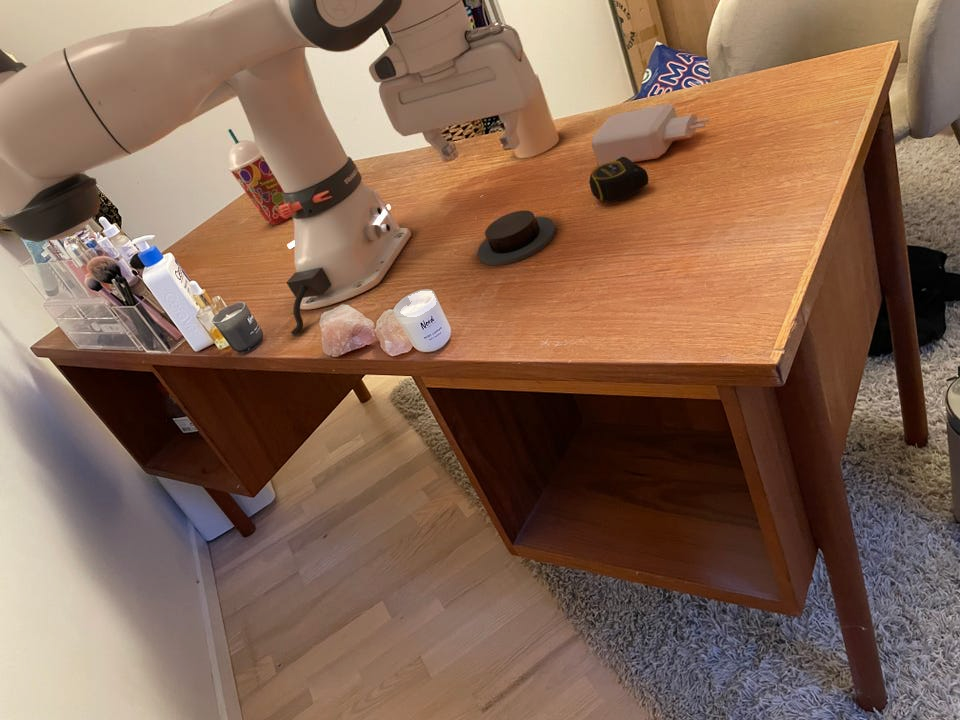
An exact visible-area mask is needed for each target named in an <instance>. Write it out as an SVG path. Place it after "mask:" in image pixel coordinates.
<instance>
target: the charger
mask: <svg viewBox="0 0 960 720" xmlns="http://www.w3.org/2000/svg"><path fill="white" fill-rule="evenodd" d="M677 115H678V114H677V111H676V107H675V106H674V105H672V104H670V103H665V104H661V105H660V104H659V105H654V106H650V107H646V108H640V109H636V110H635V109H634V110H630V111H624V112H620V113H615V114H611V115H610V116H608V118H607V119H606V120H605V122H604V123H603V124H602V125H601V127H600V128H599V129H598V130H597V131H596V133H594V134H593V137H592V140H591V147H592V150H593V153H594V157H595V159H596V164H597V165H598V167H600V166H601V165H603V164H606V163H609V162H613V161H616V160H617V159H619V158H621V157H626V158H628V159H629V160H631V161H632V162H633V163H636V162H642V161H651V160H655V159H659V158H660V157H662V155H664V154H665V153H666V152H667V150H668V149H669V148H670V146H671V145H672V144H673V142H674V141H678V140H683V139H684V140H685V139H689V138H690V139H691V138H692V137H693V135H694V133H695V131H696V130H697V129H702V128H705V127H706V124H705V123H707V122H709V118H702V119H701V118H700V119H698V115H697V114H688V115H687V114H686V115H682V116H677Z"/></svg>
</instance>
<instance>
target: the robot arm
mask: <svg viewBox="0 0 960 720" xmlns="http://www.w3.org/2000/svg"><path fill="white" fill-rule="evenodd" d="M384 26H385V27H386V28H387V30H388V32H389V35H390V37H391V40H392V44H390V45H389V46H388V47H387V48H386V50H384V51H383V52H382V53H381V54H380V55H379V56H378V57H377V58H376V59H375V60H374V61H373V62H372V63H371V64H370V65H369V66H368V72H369V74H370V76H371V78H372V80H373V81H374V82H375V83H378V84H379V83H380V84H379V87H378V94H379V97H380V101H381V104H382V106H383V109H384V110H385V113H386V115H387V118H388V120H389V121H390V124H391V126H392V128H393V129H394V130H395V131H396V132H397V133H398V134H399V135H400V136H402V137H409V136H413V135H417V134H422V136H423V138H424V140H425V141H426V142H427V143H428V144H429V145H431V146H432V148H433V149H435V150H436V151H437V152H438V153H439V155H440V158H441V161H442V162H443V163H448V162H452V161H456V159H457V158H458V157H459V151H458V150H457V147H456V145H455V144H456V143H455V142H450V143H449V141H448V140H447V139H446V138H445V137H444V136H443V135H442V133H441V132H442V131H443V128H448V127H452V126H456V125H462V124H464V123H470V122H473V121H477V120H483V119H487V118H490V117H497V116H498V119H499V121H500V123H501V124H503V123H505V122H506V125H505V126H504V133H503V134H502V135H501V136H500V137H499V138H498V139H499V141H500V144H501V145H502V149H503V151H510V150H513V149H516V148H517V147H518V145H519V144H520V140H519V137H518V135H517V132H516V129H517V122H518V116H519V112H518V110H522V109H525V108H527V107H528V106H529V105H530V104H531V103H532V102H533V101H534V100H535V99H536V98H537V96H538V93H539V83H538V80H537V78H536V75H535V74H536V73H535V71H534V69H533V67H532V64H531V62H530V60H529V58H528V56H527V54H526V53H525V51H524V46H523V43H522V41H521V38H520V35H519V33H518V31H517V30H516V28H514V27H513V26H511V25H509V24H506V23H503V22H502V21H495V22H492V23H489V25H486V26H480V27H476V28H474V29H473V26H472V23H471V21H470V18H469V15H468V13H467V10H466V7H465V5H464V2H463V0H230V1H229V2H227V3H225V4H223V5H221V6H219V7H217V8H214V9H212V10H209V11H208V12H204V13H203V14H200V15H197V16H195V17H192V18H191V19H187V20H184V21H181V22H180V23H177V24H174V25H161V26H144V27H134V28H129V29H128V28H127V29H123V30H117V31H112V32H108V33H103V34H100V35H97V36H93V37H90V38H87V39H83V40H81V41H79V42H76V43H73V44H70V45H69V46H66V47H63V48H61V49H60V50H57V51H55V52H53V53H50V54H48V55H45V56H44V57H42V58H40V59H39V60H37V61H34V62H33V63H31V64H29V65H26V64H25V63H23V62H17V61H15V60H14V59H13V58H12V57H10V56H9V55H8V54H7V53H6V52H5V51H3V50H2V49H1V48H0V216H1V219H0V220H1V222H3V223H4V225H5V226H6V227H8V228H9V229H10V230H11V231H12V232H13V233H14V234H15V235H17V236H18V237H19V238H21V240H25V241H29V242H34V243H40V242H43V241H45V242H46V241H57V240H62V239H66V238H69V237H71V236H74V235H75V234H77V233H79V232H80V231H82V230H83V229H84V228H85V227H87V226H88V224H89V223H90V222H91V221H92V220H93V218H94V217H95V216H96V215H98V214H99V211H100V207H101V201H102V200H101V195H100V191H99V188H98V186H97V185H98V182H97V179H96V178H95V177H90V176H89V175H88V173H87V172H86V171H89V170H93V169H95V168H99V167H101V166H104V165H108V164H110V163H113V162H116V161H118V160H120V159H124V158H125V157H127V156H130V155H132V154H135V153H137V152H139V151H141V150H144V149H146V148H147V147H150V146H151V145H153V144H156V143H157V142H159V141H160V140H162V139H163V138H165V137H167V136H169V135H170V134H171V133H172V132H174V131H175V130H177V129H178V128H180V127H181V126H184V125H186V124H187V123H190V122H192V121H193V120H195V119H197V118H198V117H200V116H202V115H203V114H205V113H207V112H210V111H211V110H213V109H215V108H217V107H218V106H221V105H222V104H224V103H226V102H229V101H231V100H232V99H235V98H238V101H239V102H240V105H241V107H242V110H243V112H244V114H245V116H246V119H247V121H248V124H249V127H250V129H251V132H252V136H253V140H254V142H255V144H256V146H257V147H258V149H259V151H260V152H261V154H262V156H263V158H264V159H265V161H266V163H267V164H268V166H269V168H270V169H271V171H272V173H273V174H274V176H275V178H276V179H277V181H278V183H279V184H280V186H281V188H282V189H283V191H282V194H283V197H284V200H285V204H283V205H280V206H279V210H280V211H279V213H281V214H280V215H282V217H284V218H285V219H286V218H288V217H290V216H291V218H292V220H293V240H292V241H291V242H289V243H288V244H286V245H287V247H288V249H289V250H290V249H292V248H293V249H294V250H293V251H294V253H293V254H294V259H293V261H294V267H295V270H296V271H295V272H294V273H293V274H292V275H291V276H290V278H289V279H288V280H287V281H286V285H287V286H288V288H289V289H290V291H291V292H292V294H293V295H294V297H295V300H294V303H293V307H292V308H293V309H292V310H293V311H292V312H293V316H294V319H295V322H296V327H294V328H293V329H292V330H291V332H290V333H291V335H292V336H294V337H296V336H298V335H299V334H300V333H301V332H302V330H303V327H304V321H303V320H304V319H303V317H302V315H301V310H304V311H305V310H314V309H315V310H316V309H320V308H324V307H328V306H331V305H334V304H338V303H340V302H343V301H346V300H349V299H351V298H353V297H356V296H358V295H361V294H363V293H365V292H366V291H368V290H370V289H372V288H374V287H376V286H377V285H378V284H380V282H381V281H382V280H383V278H384V277H385V275H387V272H388V271H389V270H390V268H391V267H392V265H393V264H394V262H395V261H396V259H397V257H398V256H399V254H400V253H401V251H402V250H403V248H404V247H405V245H406V244H407V243H408V241H409V240H410V238H411V236H412V232H411V231H410V229H409V228H408V227H400V225H399V224H398V223H397V221H396V219H395V218H394V215H393V214H392V212H391V211H390V210H391V205H390V204H386V202H385V201H384V199H383V198H382V196H381V194H380V193H379V191H377V190H375V189H373V188H371V187H369V186H368V185H367V184H365V183H364V181H362V179H363V177H362V175H361V173H360V171H359V168H358V166H357V164H356V163H355V162H354V160H353V159H352V157H350V156H348V155H347V153H346V151H345V149H344V147H343V145H342V143H341V141H340V139H339V138H338V136H337V134H336V132H335V129H334V128H333V125H332V123H331V121H330V119H329V118H328V116H327V114H326V112H325V109H324V107H323V104H322V102H321V99H320V96H319V93H318V89H317V87H316V83H315V80H314V77H313V73H312V71H311V68H310V65H309V61H308V59H307V56H306V48H312V49H320V50H323V51H326V52H332V53H345V52H350V51H353V50H355V49H357V48H359V47H361V45H363V44H365V43H366V42H367V41H368V40H369V39H370V37H372V36H373V35H374V34H376V33H377V32H378V31H379V30H380V29H382V28H383V27H384ZM504 29H505V30H504Z"/></svg>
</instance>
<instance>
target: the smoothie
mask: <svg viewBox="0 0 960 720" xmlns="http://www.w3.org/2000/svg"><path fill="white" fill-rule="evenodd" d="M227 132H228V133H229V135H230V136H231V138H232V140H233V141H234V144H233V145H232V146H231V147H230V149H229V151H228V154H227V164H228V171H230V172H231V174H232V175H233V177H234V178H235V179H236V181H237V183H239V185H240V187H241V188H242V189H243V190H244V192H245V193H246V195H247V196H248V198H249V199H250V200H251V202H252V203H253V205H254V206H255V208H256V209H257V210H258V212H259V213H260V214H261V216H262V217H263V219H264V220H265V221H266V222H268V223H270V224H271V225H272V226H275V225H280V224H282V223H284V222H286V221H288V220H289V219H291V218H292V217H291V216H290V217H288V218H286V219H285V218H284V217H282V215H280V214H281V213H279V211H280V210H279V206H280V205H283V204H285V200H284V197H283V194H282V191H283V189H282V188H281V186H280V184H279V183H278V181H277V179H276V178H275V176H274V174H273V173H272V171H271V169H270V168H269V166H268V164H267V163H266V161H265V159H264V158H263V156H262V154H261V152H260V151H259V149H258V147H257V146H256V144H255V141H252V140H247V139H244V140H239V139H238V138H237V136H236V135H235V133H234V132H233V130H232V128H229V129H228V130H227Z"/></svg>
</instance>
